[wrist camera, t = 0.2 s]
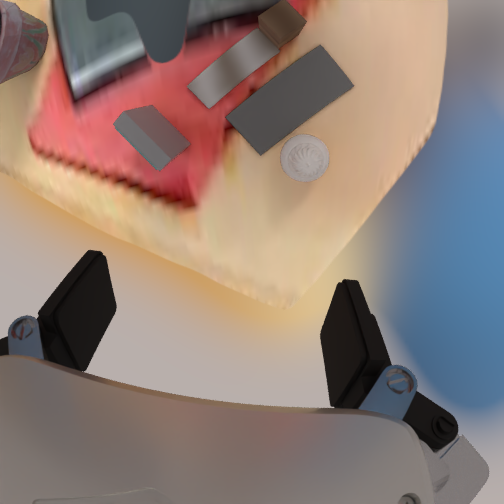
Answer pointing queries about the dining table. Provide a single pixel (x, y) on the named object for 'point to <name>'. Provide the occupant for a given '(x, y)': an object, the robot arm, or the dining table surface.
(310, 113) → the mat
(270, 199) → the dining table surface
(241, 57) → the turner
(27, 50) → the potted plant
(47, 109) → the dining table surface
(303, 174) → the muffin
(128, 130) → the tile
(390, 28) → the dining table surface
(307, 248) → the dining table surface
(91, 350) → the robot arm
